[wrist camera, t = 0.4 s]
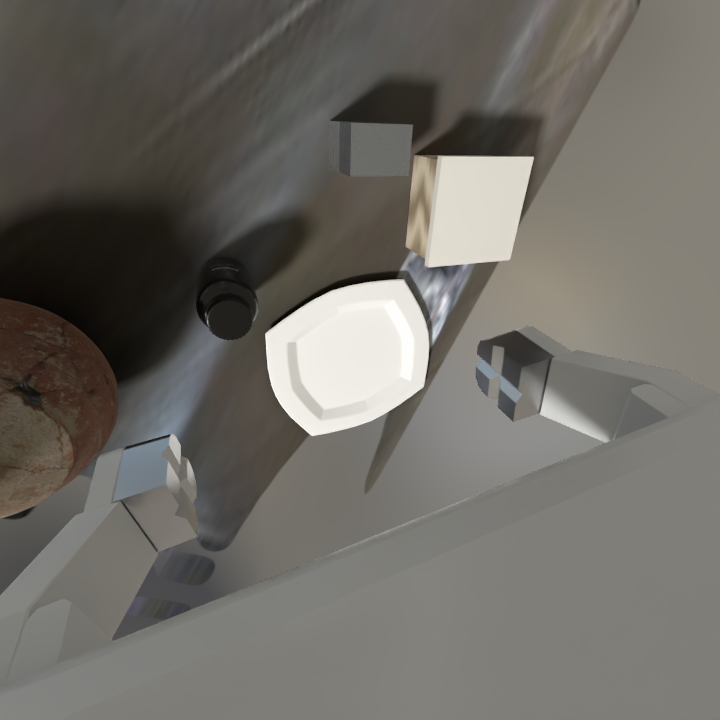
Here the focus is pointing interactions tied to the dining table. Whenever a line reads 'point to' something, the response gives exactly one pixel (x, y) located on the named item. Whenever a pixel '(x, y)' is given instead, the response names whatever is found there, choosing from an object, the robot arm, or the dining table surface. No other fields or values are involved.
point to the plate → (349, 355)
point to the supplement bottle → (226, 298)
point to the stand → (466, 207)
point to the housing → (370, 148)
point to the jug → (48, 404)
